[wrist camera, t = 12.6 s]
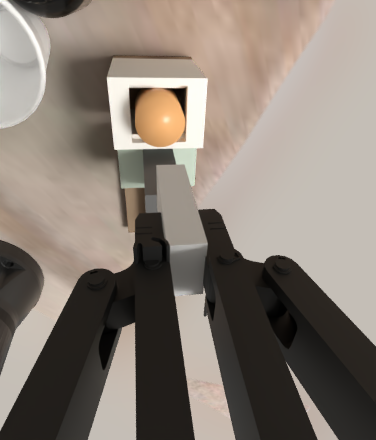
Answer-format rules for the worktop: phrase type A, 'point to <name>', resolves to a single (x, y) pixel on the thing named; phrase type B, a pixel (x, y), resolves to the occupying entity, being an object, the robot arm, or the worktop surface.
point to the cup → (21, 63)
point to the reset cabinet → (156, 78)
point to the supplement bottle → (52, 7)
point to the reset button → (158, 116)
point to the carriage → (152, 169)
